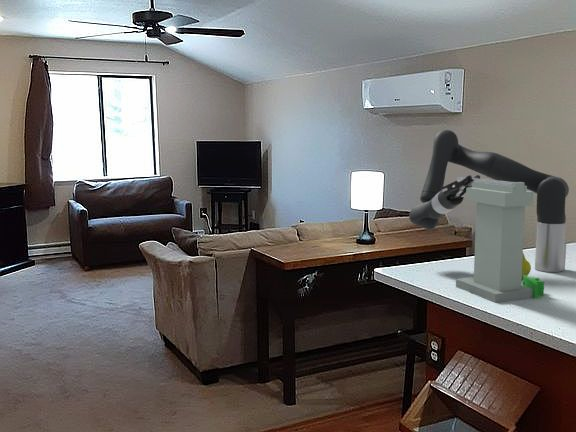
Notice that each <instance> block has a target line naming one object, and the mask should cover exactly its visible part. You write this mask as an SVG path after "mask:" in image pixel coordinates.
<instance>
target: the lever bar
mask: <svg viewBox="0 0 576 432" xmlns="http://www.w3.org/2000/svg"><path fill="white" fill-rule="evenodd" d="M466 177H467V176H457V180H456V181H458V182H459V181H460V180H463V179H465V178H466ZM473 182H482V183H491V184H499V185H508V186H512V183H513V182H508V181H499V180H494V179H491V178H490V179H488V178H481V177H480V178H474V177H472V182H471V183H470V184H468V185H467V186H470V187H473Z"/></svg>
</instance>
